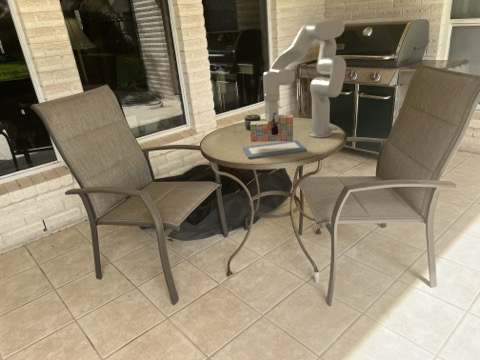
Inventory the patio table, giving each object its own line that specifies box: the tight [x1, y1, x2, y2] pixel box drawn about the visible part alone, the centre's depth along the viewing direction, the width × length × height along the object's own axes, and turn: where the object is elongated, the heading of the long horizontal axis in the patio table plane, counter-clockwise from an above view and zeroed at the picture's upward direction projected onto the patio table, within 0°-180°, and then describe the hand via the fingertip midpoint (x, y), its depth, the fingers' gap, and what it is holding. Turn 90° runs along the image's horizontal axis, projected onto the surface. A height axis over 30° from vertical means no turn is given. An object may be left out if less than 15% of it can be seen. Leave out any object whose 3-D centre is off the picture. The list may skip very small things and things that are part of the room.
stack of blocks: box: [249, 113, 294, 143], centre depth 187 cm, size 21×6×12 cm, turn 82°
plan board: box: [242, 139, 308, 160], centre depth 191 cm, size 30×16×1 cm, turn 100°
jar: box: [244, 114, 262, 131], centre depth 229 cm, size 10×10×8 cm
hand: (272, 132), depth 187 cm, fingers closed on stack of blocks, 7 cm apart
